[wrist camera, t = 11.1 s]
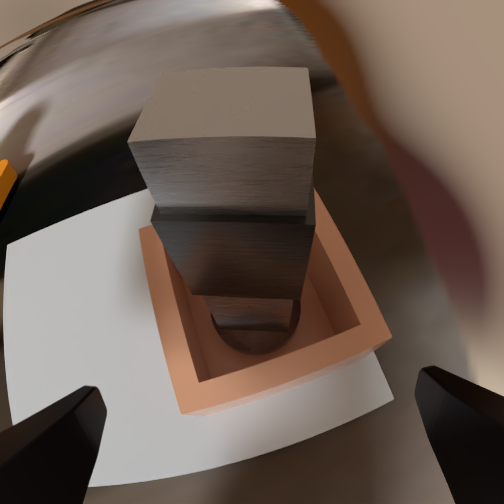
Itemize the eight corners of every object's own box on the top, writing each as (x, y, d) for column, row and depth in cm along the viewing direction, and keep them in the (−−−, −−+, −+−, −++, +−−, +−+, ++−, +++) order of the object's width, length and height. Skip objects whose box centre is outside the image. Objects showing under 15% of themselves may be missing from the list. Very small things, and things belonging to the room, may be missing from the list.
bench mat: (391, 399, 15) (394, 399, 14) (31, 486, 12) (27, 487, 12) (272, 155, 23) (272, 151, 23) (10, 247, 21) (7, 245, 20)
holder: (362, 359, 16) (392, 337, 12) (204, 416, 15) (181, 414, 11) (301, 227, 20) (308, 177, 16) (164, 271, 19) (138, 229, 15)
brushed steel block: (298, 357, 15) (361, 187, 4) (209, 352, 16) (79, 187, 5) (299, 275, 17) (330, 50, 6) (218, 272, 18) (151, 57, 7)
